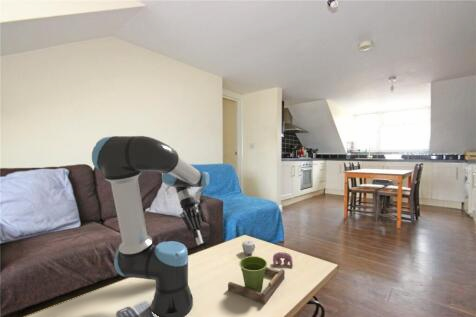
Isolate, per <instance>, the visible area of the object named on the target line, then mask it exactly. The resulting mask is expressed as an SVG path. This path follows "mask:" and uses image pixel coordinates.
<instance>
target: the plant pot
mask: <svg viewBox="0 0 476 317" xmlns="http://www.w3.org/2000/svg"><path fill="white" fill-rule="evenodd" d="M238 262H239V263H238V265H239V267H240V270H241V273H242V277H243V282H244V287H246V288H249V289H252V290H255V291H257V292H260V293H261V291H263V286H264V278H265V274H264V273H265V269H266V267H268V261H267V260H266V259H265V258H263V257H260V256H256V255H255V256H253V255H252V256H251V255H250V256H249V255H248V256H246V257H243V258H242V259H240V261H238Z"/></svg>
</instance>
